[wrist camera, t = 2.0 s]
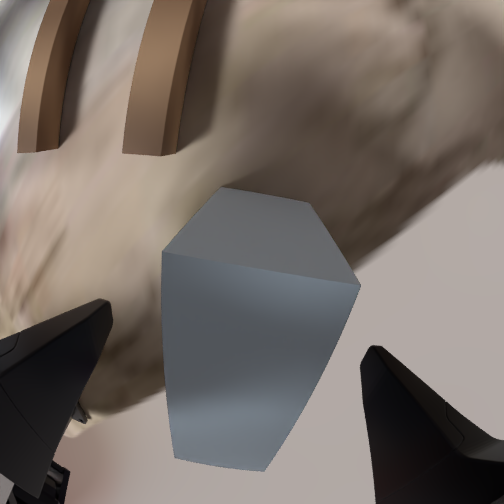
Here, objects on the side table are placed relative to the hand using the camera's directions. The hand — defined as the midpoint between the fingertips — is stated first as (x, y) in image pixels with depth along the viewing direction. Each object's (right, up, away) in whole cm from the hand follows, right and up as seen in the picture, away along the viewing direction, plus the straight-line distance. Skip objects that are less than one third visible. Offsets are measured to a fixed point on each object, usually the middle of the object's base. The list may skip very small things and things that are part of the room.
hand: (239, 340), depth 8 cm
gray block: (0, +1, +3) cm, 3 cm away
